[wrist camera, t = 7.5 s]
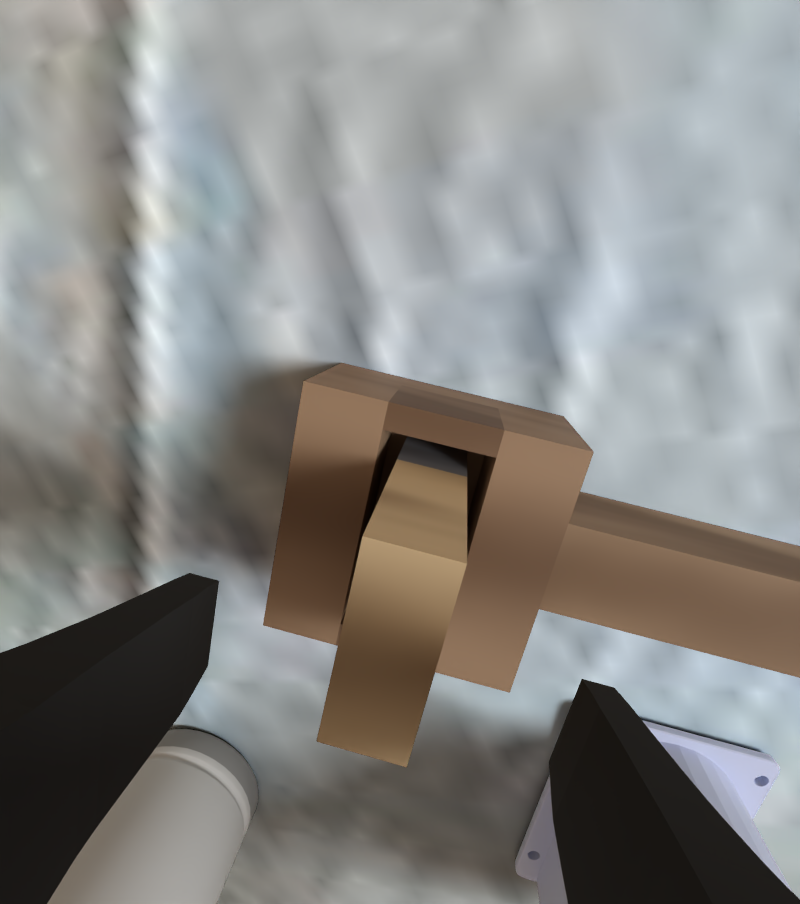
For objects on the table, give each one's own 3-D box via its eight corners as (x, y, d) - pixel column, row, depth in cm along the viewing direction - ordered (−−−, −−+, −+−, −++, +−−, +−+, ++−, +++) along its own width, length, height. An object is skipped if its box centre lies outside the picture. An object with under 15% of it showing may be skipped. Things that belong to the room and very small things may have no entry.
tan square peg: (431, 577, 19) (407, 767, 11) (377, 563, 19) (316, 741, 11) (467, 448, 17) (466, 563, 10) (408, 433, 17) (362, 536, 10)
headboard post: (1085, 764, 19) (1264, 898, 15) (305, 558, 21) (263, 625, 17) (1234, 578, 17) (1499, 673, 12) (341, 362, 18) (303, 381, 14)
